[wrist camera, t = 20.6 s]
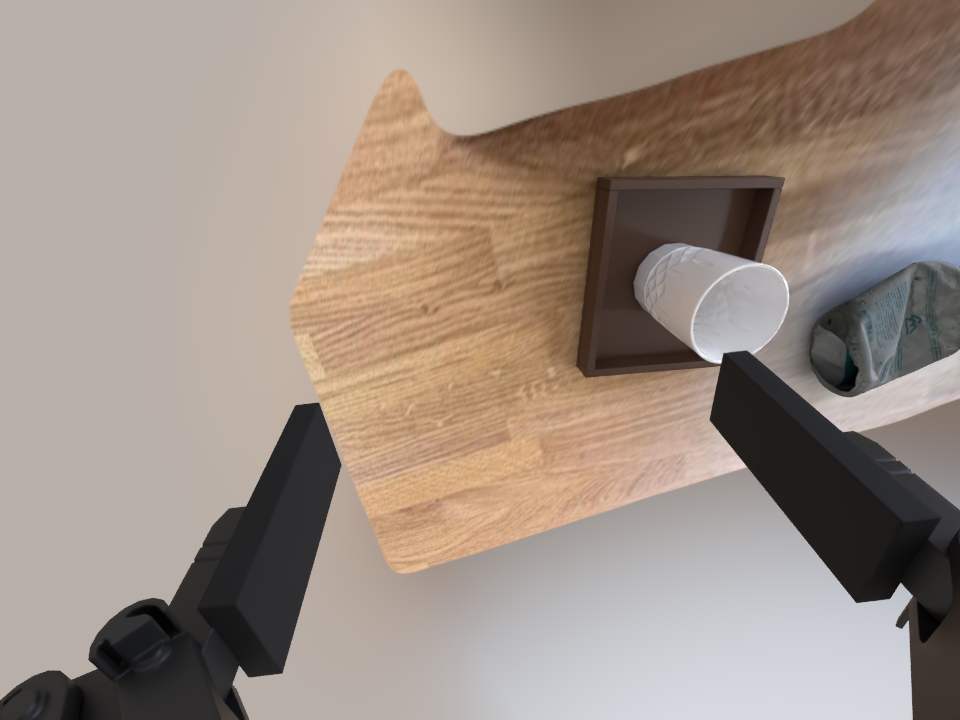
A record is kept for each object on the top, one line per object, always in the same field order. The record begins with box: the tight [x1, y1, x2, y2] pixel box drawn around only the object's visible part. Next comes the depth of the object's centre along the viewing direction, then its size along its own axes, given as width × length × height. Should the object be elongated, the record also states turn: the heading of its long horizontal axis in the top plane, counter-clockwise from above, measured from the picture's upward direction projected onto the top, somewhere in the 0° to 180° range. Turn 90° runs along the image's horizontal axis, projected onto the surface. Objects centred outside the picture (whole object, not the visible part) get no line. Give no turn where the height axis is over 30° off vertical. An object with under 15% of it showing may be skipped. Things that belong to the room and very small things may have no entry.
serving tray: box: [577, 176, 785, 377], centre depth 41 cm, size 18×16×2 cm
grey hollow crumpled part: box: [810, 261, 960, 397], centre depth 46 cm, size 13×7×25 cm
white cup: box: [633, 243, 789, 364], centre depth 37 cm, size 8×8×10 cm
